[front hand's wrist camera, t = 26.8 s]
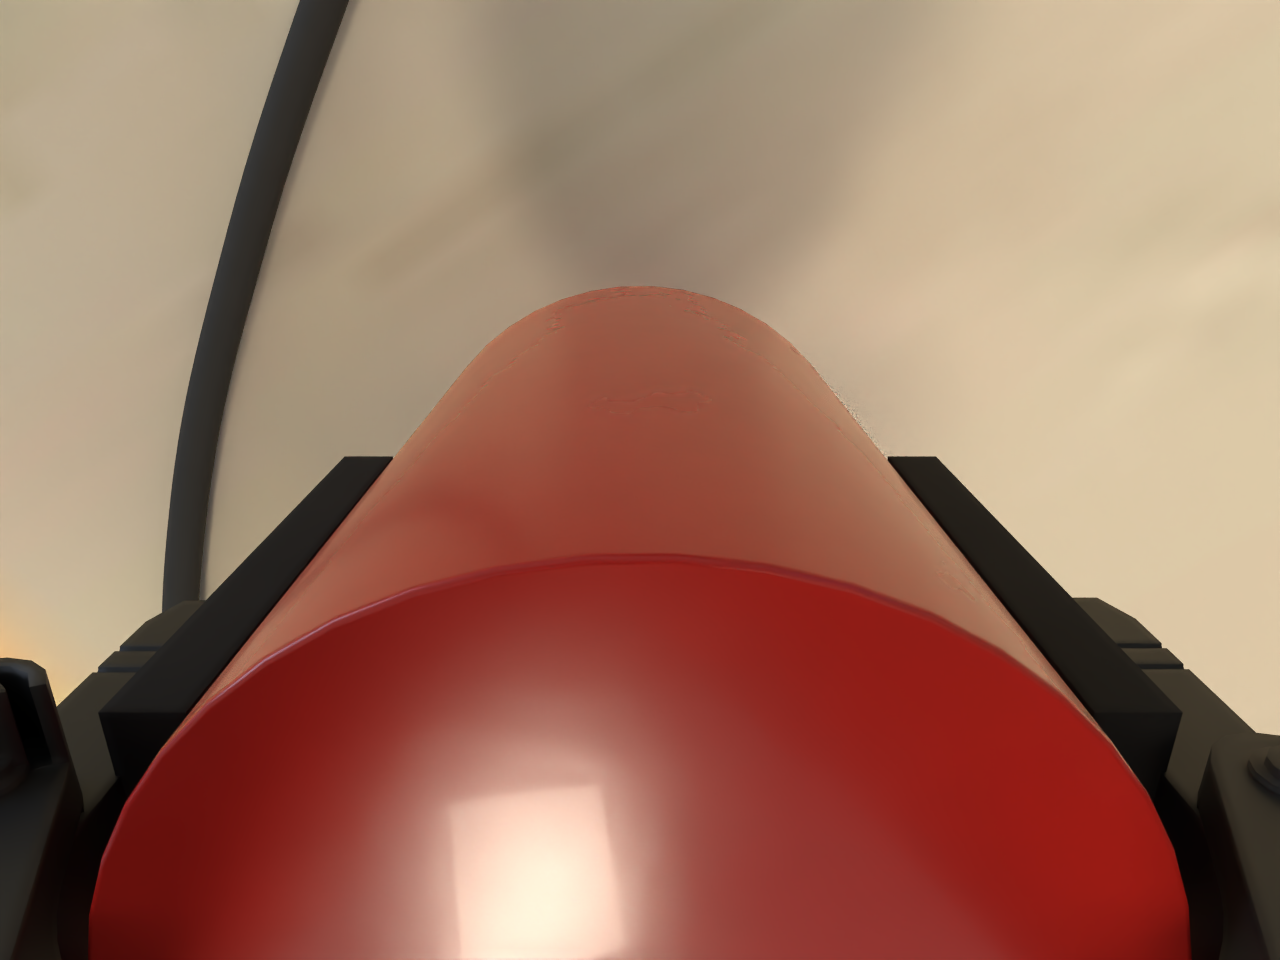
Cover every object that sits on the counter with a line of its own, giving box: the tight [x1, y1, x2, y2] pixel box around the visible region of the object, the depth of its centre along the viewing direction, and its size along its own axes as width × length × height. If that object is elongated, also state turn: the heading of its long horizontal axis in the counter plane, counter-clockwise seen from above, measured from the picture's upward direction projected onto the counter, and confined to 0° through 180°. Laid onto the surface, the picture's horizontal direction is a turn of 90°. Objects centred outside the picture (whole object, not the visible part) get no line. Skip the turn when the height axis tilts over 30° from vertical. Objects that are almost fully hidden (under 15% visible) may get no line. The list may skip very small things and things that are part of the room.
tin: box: [88, 286, 1192, 960], centre depth 11 cm, size 8×8×10 cm
